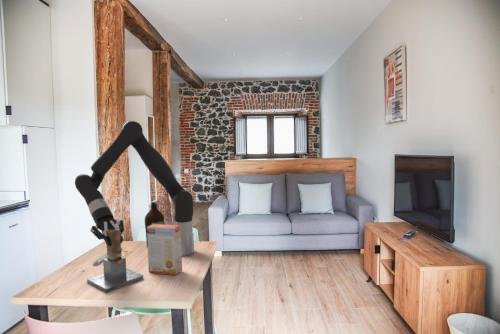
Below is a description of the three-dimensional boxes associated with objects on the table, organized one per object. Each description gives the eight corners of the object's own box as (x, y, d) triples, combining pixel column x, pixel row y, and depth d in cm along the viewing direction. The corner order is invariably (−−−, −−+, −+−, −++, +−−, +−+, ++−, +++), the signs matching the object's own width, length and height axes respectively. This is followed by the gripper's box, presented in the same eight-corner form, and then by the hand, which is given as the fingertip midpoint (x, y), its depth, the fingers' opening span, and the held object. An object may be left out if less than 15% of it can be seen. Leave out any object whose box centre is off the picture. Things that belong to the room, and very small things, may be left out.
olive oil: (142, 245, 176) (140, 202, 174) (160, 241, 183) (158, 200, 181) (150, 250, 168) (148, 204, 166) (168, 245, 175) (166, 202, 174)
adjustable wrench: (97, 266, 147) (97, 263, 147) (84, 266, 148) (84, 263, 148) (123, 249, 172) (123, 246, 172) (112, 249, 173) (112, 245, 173)
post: (117, 267, 133) (115, 228, 132) (122, 269, 130) (120, 229, 129) (107, 270, 129) (105, 230, 128) (112, 272, 127) (110, 231, 126)
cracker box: (182, 270, 139) (181, 224, 138) (175, 276, 133) (173, 228, 132) (156, 267, 144) (154, 223, 142) (148, 272, 138) (146, 226, 136)
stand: (123, 269, 141) (122, 249, 141) (143, 278, 131) (142, 256, 131) (87, 282, 129) (85, 260, 128) (106, 293, 119) (104, 268, 118)
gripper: (86, 209, 127) (101, 243, 120) (118, 203, 138) (135, 234, 131) (81, 220, 131) (96, 253, 124) (113, 213, 142) (129, 244, 135)
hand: (116, 243), depth 128 cm, fingers closed on post, 4 cm apart
